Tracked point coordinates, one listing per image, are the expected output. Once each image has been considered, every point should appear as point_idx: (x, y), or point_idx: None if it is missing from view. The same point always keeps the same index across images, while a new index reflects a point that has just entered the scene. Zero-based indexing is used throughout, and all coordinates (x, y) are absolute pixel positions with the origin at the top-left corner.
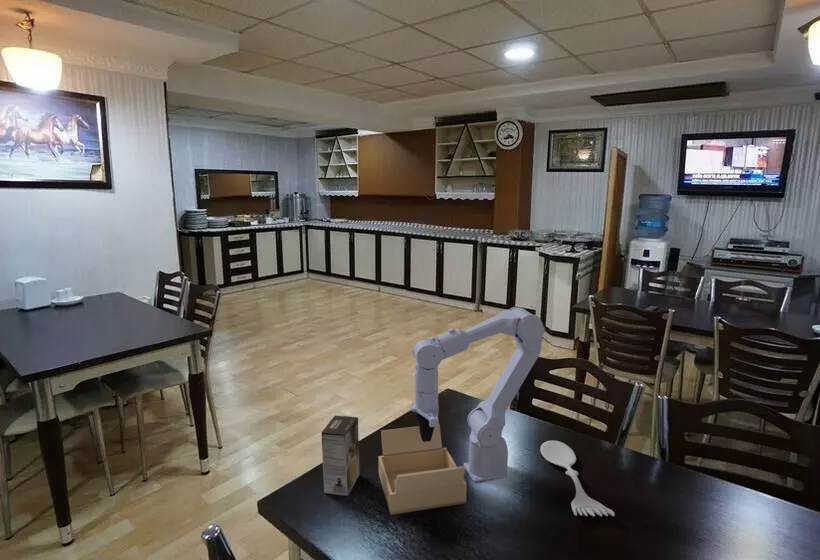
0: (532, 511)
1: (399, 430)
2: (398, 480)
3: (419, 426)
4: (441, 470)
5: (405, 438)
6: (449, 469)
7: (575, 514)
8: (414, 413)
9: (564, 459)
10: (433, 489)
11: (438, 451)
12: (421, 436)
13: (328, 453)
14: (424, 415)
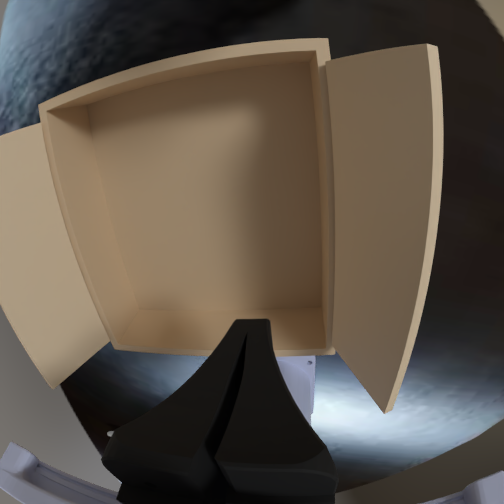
0: (132, 397)
1: (421, 194)
2: None
3: (241, 384)
4: (9, 321)
5: (378, 215)
6: (23, 345)
7: (109, 432)
8: (267, 471)
9: None
10: (77, 255)
11: (327, 325)
12: (231, 336)
13: None
14: (36, 502)
